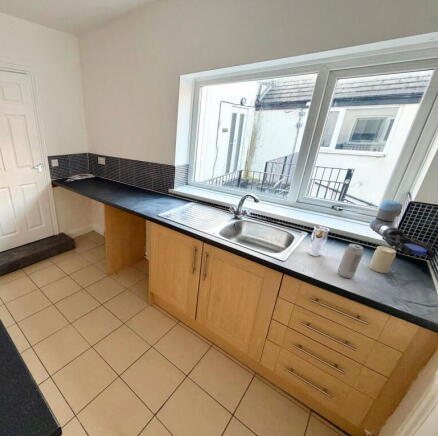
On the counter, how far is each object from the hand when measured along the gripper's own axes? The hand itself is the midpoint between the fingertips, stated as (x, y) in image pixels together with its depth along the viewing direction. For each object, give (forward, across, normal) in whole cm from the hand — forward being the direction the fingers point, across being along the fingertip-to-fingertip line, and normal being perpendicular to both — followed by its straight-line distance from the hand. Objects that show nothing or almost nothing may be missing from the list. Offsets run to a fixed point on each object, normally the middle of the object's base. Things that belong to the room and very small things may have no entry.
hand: (421, 253), depth 110 cm
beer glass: (-7, +38, -11) cm, 41 cm away
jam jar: (0, +13, -11) cm, 17 cm away
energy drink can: (+12, +31, -11) cm, 35 cm away
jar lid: (-5, 0, 0) cm, 5 cm away
